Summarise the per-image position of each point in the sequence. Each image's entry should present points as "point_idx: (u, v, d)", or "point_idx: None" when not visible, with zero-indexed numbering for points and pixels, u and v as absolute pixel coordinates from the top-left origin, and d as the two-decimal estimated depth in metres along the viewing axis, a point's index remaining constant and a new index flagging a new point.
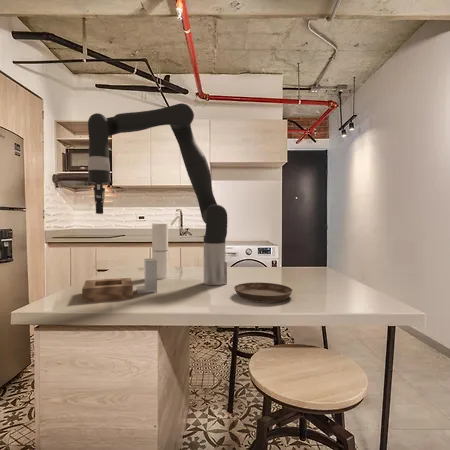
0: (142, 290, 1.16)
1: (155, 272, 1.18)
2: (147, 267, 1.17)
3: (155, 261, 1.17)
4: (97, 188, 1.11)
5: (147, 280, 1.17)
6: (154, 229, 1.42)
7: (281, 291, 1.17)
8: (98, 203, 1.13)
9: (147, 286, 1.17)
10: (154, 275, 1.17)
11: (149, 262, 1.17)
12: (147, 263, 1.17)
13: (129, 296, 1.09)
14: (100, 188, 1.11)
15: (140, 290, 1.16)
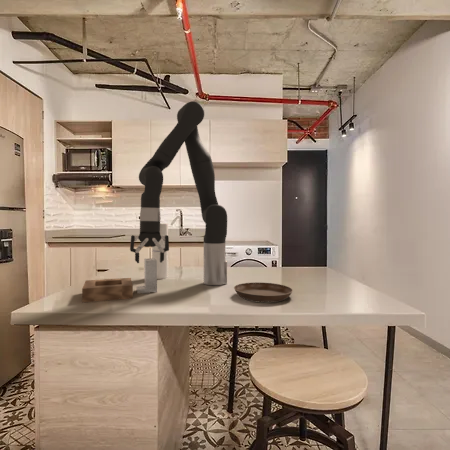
0: (142, 290, 1.16)
1: (155, 272, 1.18)
2: (147, 267, 1.17)
3: (155, 261, 1.17)
4: None
5: (147, 280, 1.17)
6: None
7: (281, 291, 1.17)
8: None
9: (147, 286, 1.17)
10: (154, 275, 1.17)
11: (149, 262, 1.17)
12: (147, 263, 1.17)
13: (129, 296, 1.09)
14: None
15: (140, 290, 1.16)
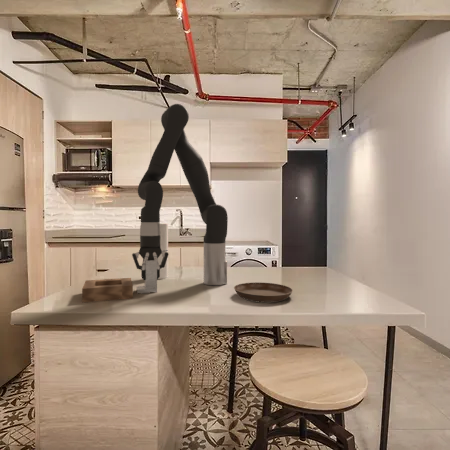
0: (142, 290, 1.16)
1: (155, 272, 1.18)
2: (147, 267, 1.17)
3: (155, 261, 1.17)
4: None
5: (147, 280, 1.17)
6: None
7: (281, 291, 1.17)
8: None
9: (147, 286, 1.17)
10: (154, 275, 1.17)
11: (149, 262, 1.17)
12: (147, 263, 1.16)
13: (129, 296, 1.09)
14: None
15: (140, 290, 1.16)
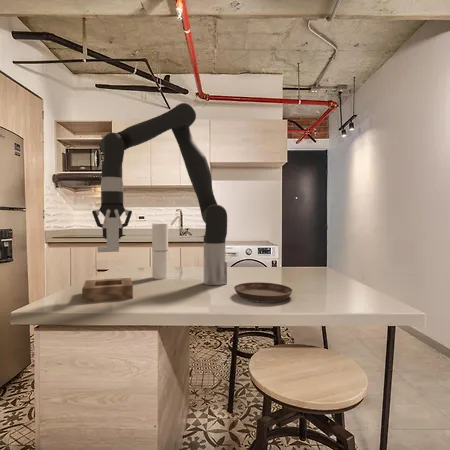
0: (102, 249, 1.09)
1: (117, 230, 1.11)
2: (108, 224, 1.10)
3: (117, 218, 1.11)
4: (130, 215, 1.15)
5: (108, 238, 1.10)
6: (154, 229, 1.42)
7: (281, 291, 1.17)
8: None
9: (108, 245, 1.10)
10: (115, 233, 1.11)
11: (110, 219, 1.10)
12: (108, 220, 1.10)
13: (129, 296, 1.09)
14: None
15: (100, 248, 1.09)
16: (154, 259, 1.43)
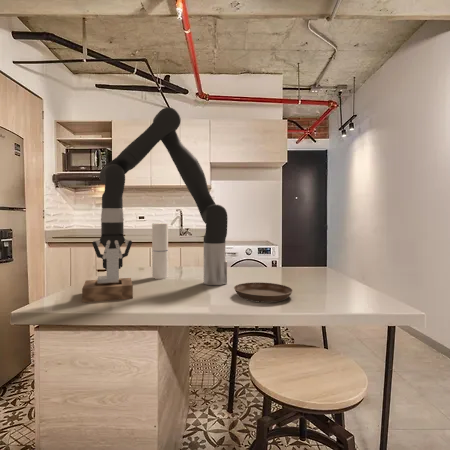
0: (102, 280, 1.10)
1: (117, 261, 1.11)
2: (108, 255, 1.10)
3: (117, 249, 1.11)
4: (130, 245, 1.15)
5: (108, 269, 1.10)
6: (154, 229, 1.42)
7: (281, 291, 1.17)
8: None
9: (108, 276, 1.10)
10: (115, 264, 1.11)
11: (110, 250, 1.10)
12: (108, 251, 1.10)
13: (129, 296, 1.09)
14: None
15: (100, 280, 1.10)
16: (154, 259, 1.43)
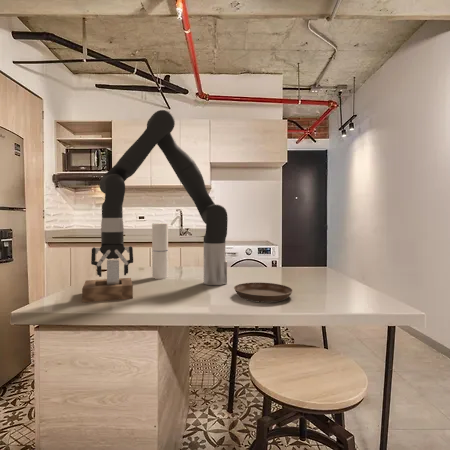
0: None
1: (117, 274, 1.11)
2: (108, 269, 1.10)
3: (117, 262, 1.11)
4: (132, 250, 1.15)
5: (108, 282, 1.10)
6: (154, 229, 1.42)
7: (281, 291, 1.17)
8: None
9: None
10: (116, 277, 1.11)
11: (110, 263, 1.10)
12: (108, 264, 1.10)
13: (129, 296, 1.09)
14: None
15: None
16: (154, 259, 1.43)
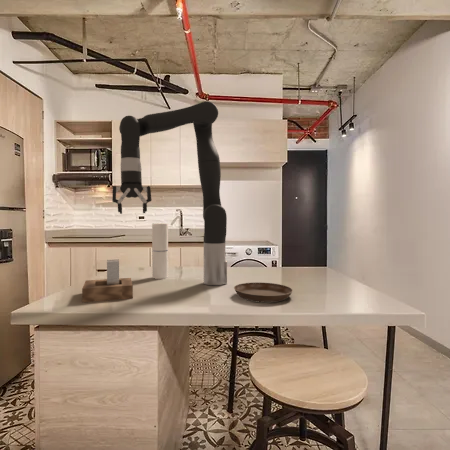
0: None
1: (117, 274, 1.11)
2: (108, 269, 1.10)
3: (117, 262, 1.11)
4: None
5: (108, 282, 1.10)
6: (154, 229, 1.42)
7: (281, 291, 1.17)
8: (146, 203, 1.23)
9: None
10: (116, 277, 1.11)
11: (110, 263, 1.10)
12: (108, 264, 1.10)
13: (129, 296, 1.09)
14: None
15: None
16: (154, 259, 1.43)
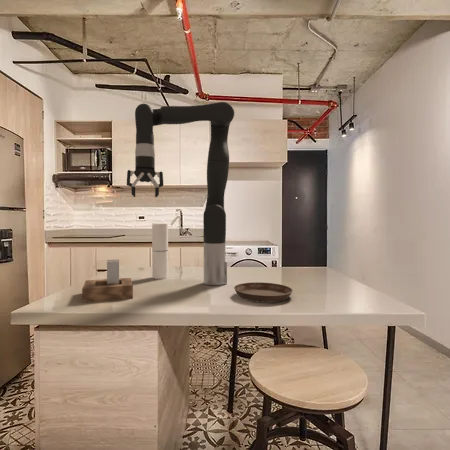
0: None
1: (117, 274, 1.11)
2: (108, 269, 1.10)
3: (117, 262, 1.11)
4: None
5: (108, 282, 1.10)
6: (154, 229, 1.42)
7: (281, 291, 1.17)
8: (158, 188, 1.29)
9: None
10: (116, 277, 1.11)
11: (110, 263, 1.10)
12: (108, 264, 1.10)
13: (129, 296, 1.09)
14: None
15: None
16: (154, 259, 1.43)
